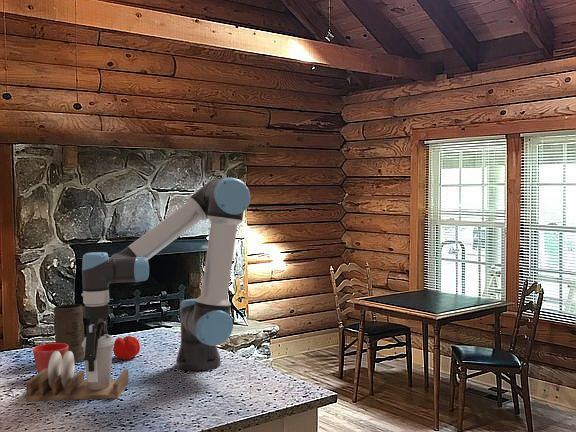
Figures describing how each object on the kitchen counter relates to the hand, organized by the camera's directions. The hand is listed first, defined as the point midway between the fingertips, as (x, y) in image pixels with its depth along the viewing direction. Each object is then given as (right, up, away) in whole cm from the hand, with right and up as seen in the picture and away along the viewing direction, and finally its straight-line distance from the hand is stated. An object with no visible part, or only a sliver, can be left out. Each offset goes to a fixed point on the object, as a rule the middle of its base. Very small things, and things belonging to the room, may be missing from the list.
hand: (97, 375), depth 189 cm
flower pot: (-20, -4, +16) cm, 26 cm away
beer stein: (-23, -4, +37) cm, 44 cm away
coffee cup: (0, -4, +1) cm, 4 cm away
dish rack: (-5, -5, 0) cm, 7 cm away
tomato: (-1, -3, +38) cm, 38 cm away
